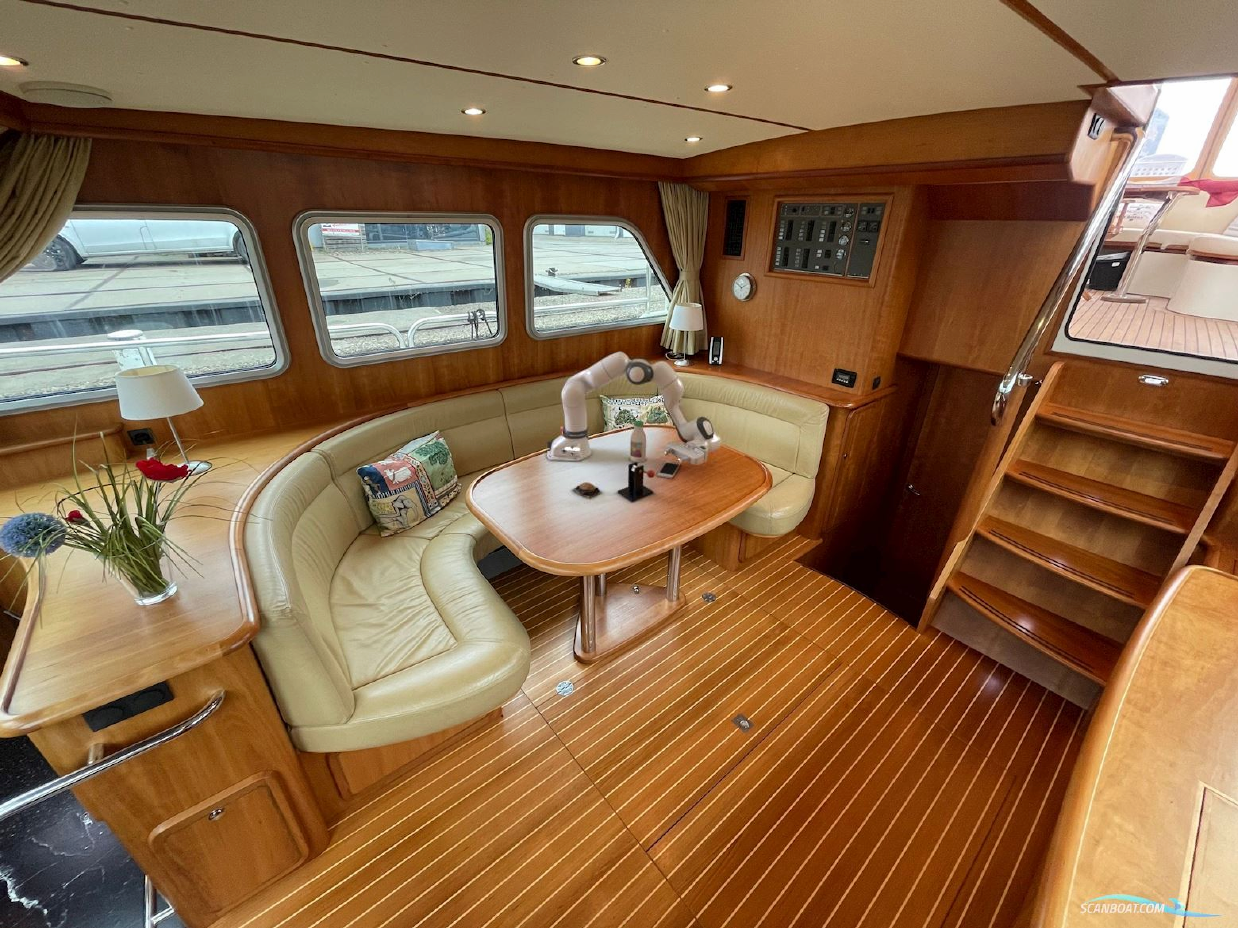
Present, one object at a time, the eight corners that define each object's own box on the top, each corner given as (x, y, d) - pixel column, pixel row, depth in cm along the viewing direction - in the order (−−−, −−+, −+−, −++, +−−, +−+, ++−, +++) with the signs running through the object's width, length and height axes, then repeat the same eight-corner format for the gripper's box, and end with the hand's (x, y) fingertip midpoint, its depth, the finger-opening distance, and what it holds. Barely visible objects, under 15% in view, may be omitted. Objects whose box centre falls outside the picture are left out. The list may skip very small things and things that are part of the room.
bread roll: (571, 491, 211) (571, 483, 210) (585, 484, 217) (585, 477, 215) (588, 499, 205) (588, 491, 203) (602, 492, 210) (602, 484, 209)
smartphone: (657, 476, 224) (657, 474, 223) (666, 462, 237) (666, 460, 236) (671, 478, 221) (672, 476, 221) (680, 464, 234) (680, 463, 234)
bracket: (638, 485, 216) (639, 457, 210) (653, 493, 209) (654, 465, 203) (617, 492, 210) (617, 464, 204) (631, 502, 202) (632, 473, 196)
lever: (649, 476, 214) (652, 469, 213) (654, 479, 211) (657, 472, 211) (629, 470, 205) (632, 462, 204) (634, 473, 202) (638, 465, 202)
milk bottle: (637, 454, 245) (638, 418, 236) (648, 459, 240) (649, 422, 231) (627, 459, 240) (627, 421, 231) (638, 464, 235) (639, 426, 226)
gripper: (678, 436, 229) (657, 443, 222) (710, 450, 215) (688, 458, 207) (677, 448, 232) (656, 455, 225) (709, 463, 218) (687, 471, 210)
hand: (671, 457), depth 216 cm, fingers open, 8 cm apart
